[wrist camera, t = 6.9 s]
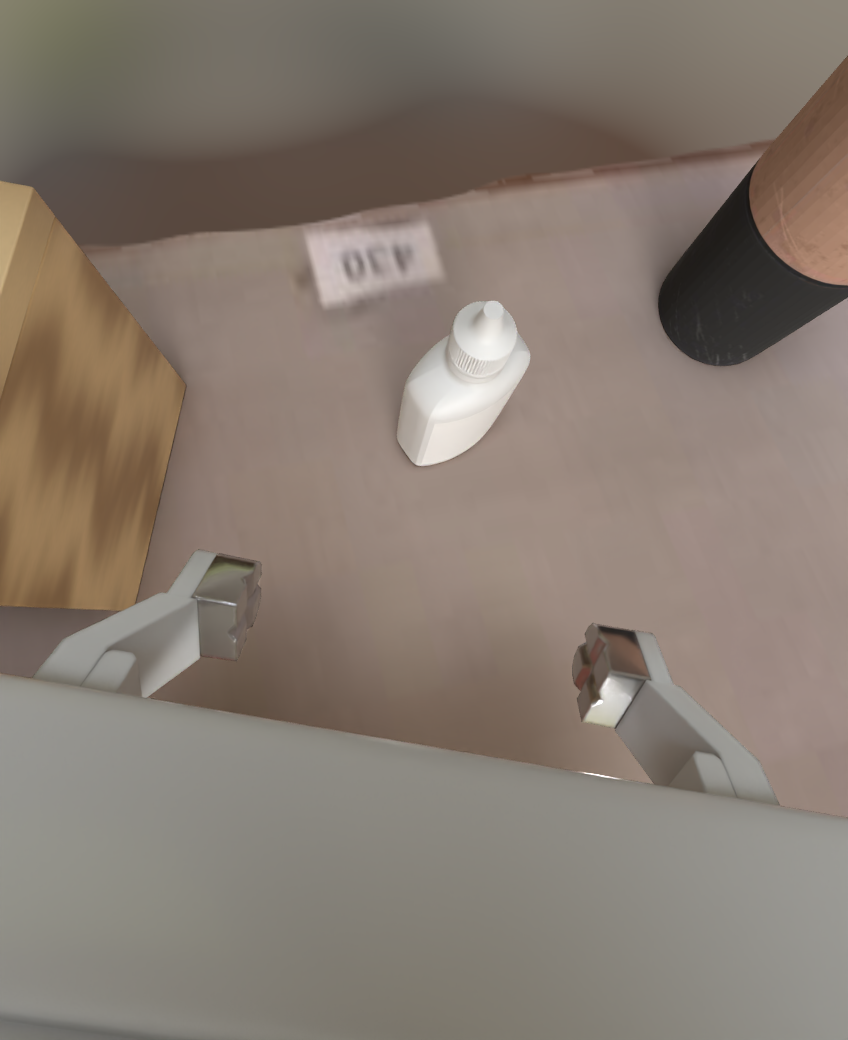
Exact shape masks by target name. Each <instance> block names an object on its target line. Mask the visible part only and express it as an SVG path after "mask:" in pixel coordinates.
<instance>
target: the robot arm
mask: <svg viewBox="0 0 848 1040" xmlns="http://www.w3.org/2000/svg"><path fill="white" fill-rule="evenodd" d="M261 575H262V564H261V563H260V562H259V561H254V560H250V559H245V558H240V557H235V556H230V555H226V554H221V553H219V554H218V553H214V552H209V551H204V550H200V549H198V550H197V551H195V552H194V553H193V554H192V556H191V557H190V559H189V560H188V562H187V563H186V565H185V566H184V568H183V569H182V571H181V572H180V574H179V575H178V577H177V578H176V580H175V581H174V583H173V584H172V586H171V587H170V589H169V590H168V592H167V593H161V592H160V593H158V594H156V595H154V596H152V597H150V598H147V599H145V600H143V601H141V602H139V603H137V604H135V605H133V606H131V607H129V608H127V609H125V610H122V611H120V612H118V613H116V614H114V615H112V616H110V617H108V618H106V619H104V620H102V621H99V622H97V623H95V624H93V625H91V626H89V627H87V628H85V629H83V630H81V631H79V632H77V633H74V634H72V635H70V636H68V637H66V638H64V639H63V640H62V641H61V642H60V644H59V645H58V646H57V647H56V648H55V650H54V651H53V652H52V653H51V655H50V656H49V657H48V658H47V660H46V661H45V662H44V663H43V665H42V666H41V667H40V668H39V669H38V671H37V672H36V673H35V674H34V676H33V677H32V678H27V677H21V676H15V675H9V674H3V673H0V1040H848V817H843V816H837V815H832V814H826V813H820V812H814V811H808V810H802V809H796V808H790V807H785V806H780V804H779V802H778V800H777V798H776V796H775V794H774V792H773V789H772V787H771V785H770V783H769V781H768V779H767V777H766V774H765V772H764V770H763V768H762V766H761V764H760V762H759V760H758V759H757V758H756V757H755V756H754V755H752V754H751V753H750V752H749V751H748V750H747V749H746V748H745V747H744V746H743V745H742V744H741V743H740V742H739V741H738V740H737V739H735V738H734V737H733V736H732V735H731V734H730V733H729V732H728V731H727V730H726V729H725V728H724V727H723V726H722V725H721V724H720V723H718V722H717V721H716V720H715V719H714V718H713V717H712V716H711V715H710V714H709V713H708V712H707V711H706V710H705V709H704V708H703V707H701V706H700V705H699V704H698V703H697V702H696V701H695V700H694V699H693V698H692V697H691V696H690V695H689V694H688V693H687V692H685V691H684V690H683V689H682V688H681V687H680V686H677V685H674V684H673V681H672V679H671V676H670V674H669V671H668V668H667V666H666V663H665V661H664V658H663V655H662V653H661V650H660V648H659V645H658V642H657V640H656V637H655V636H654V635H653V634H652V633H648V632H642V631H636V630H629V629H623V628H617V627H612V626H606V625H600V624H595V623H592V624H591V625H590V626H589V627H588V628H587V630H586V632H585V638H586V642H585V643H584V644H582V645H580V646H578V649H577V651H576V653H575V655H574V660H573V665H572V676H573V682H574V684H575V686H576V687H577V688H578V689H579V690H580V691H581V692H580V694H579V696H578V697H577V702H578V707H579V712H580V717H581V722H585V723H590V724H595V725H600V726H604V727H609V728H614V729H615V731H616V733H617V734H618V735H619V737H620V738H621V739H622V741H623V742H624V743H625V745H626V746H627V748H628V749H629V750H630V752H631V753H632V754H633V756H634V757H635V759H636V760H637V761H638V763H639V764H640V765H641V767H642V768H643V770H644V771H645V772H646V774H647V775H648V776H649V778H650V779H651V780H652V782H653V783H654V784H649V783H644V782H638V781H632V780H626V779H620V778H614V777H608V776H602V775H596V774H590V773H584V772H578V771H572V770H567V769H561V768H555V767H549V766H543V765H537V764H532V763H526V762H520V761H514V760H508V759H503V758H497V757H491V756H485V755H479V754H473V753H468V752H462V751H456V750H450V749H444V748H438V747H432V746H426V745H420V744H415V743H409V742H403V741H397V740H391V739H385V738H379V737H373V736H367V735H362V734H356V733H350V732H344V731H338V730H332V729H326V728H320V727H314V726H309V725H303V724H297V723H291V722H285V721H279V720H273V719H267V718H262V717H256V716H250V715H244V714H238V713H232V712H226V711H220V710H215V709H209V708H203V707H197V706H191V705H185V704H179V703H173V702H168V701H162V700H156V699H150V698H147V697H148V696H150V695H151V694H152V693H154V692H155V691H156V690H158V689H159V688H160V687H162V686H163V685H164V684H166V683H167V682H169V681H170V680H171V679H173V678H174V677H175V676H177V675H178V674H179V673H181V672H182V671H183V670H185V669H186V668H187V667H189V666H190V665H191V664H193V663H194V662H196V661H197V660H198V659H200V656H203V657H210V658H217V659H224V660H230V661H237V660H238V658H239V656H240V654H241V651H242V649H243V647H244V645H245V642H246V636H247V629H249V628H251V627H252V626H253V624H254V622H255V619H256V616H257V613H258V609H259V606H260V599H261V588H260V586H259V585H258V582H259V579H260V577H261Z"/></svg>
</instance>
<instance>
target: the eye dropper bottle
mask: <svg viewBox="0 0 848 1040" xmlns="http://www.w3.org/2000/svg"><path fill="white" fill-rule="evenodd" d="M515 324H516V323H515V322H514V320H513V317H511V315H510V314H509V312H507V310H505V309H504V308H503V306H502V305H501V304H500V303H499V302H497V301H489V302H486V301H484V302H483V301H481V302H479V301H478V302H474V303H471V304H468V305H467V306H465V307H463V309H461V310H460V312H458V314H457V315H456V317H455V319H454V321H453V325H452V328H451V332H450V335H448V336H447V337H445V338H444V339H442V340H441V341H440V342H438V343H437V344H436V345H434V346H433V347H432V348H431V349H430V350H429V351H428V352H427V353H426V354H425V355H424V356H423V357H422V358H421V360H420V361H419V362H418V363H417V365H416V366H415V367H414V369H413V370H412V372H411V373H410V375H409V377H408V379H407V381H406V384H405V388H404V393H403V397H402V403H401V409H400V415H399V422H398V429H397V435H396V437H397V440H398V442H399V444H400V446H401V447H402V449H403V450H404V451H405V453H406V454H407V456H408V457H409V459H410V460H411V461H412V462H413V463H414V464H415V465H419V466H428V465H433V464H437V463H441V462H444V461H447V460H449V459H452V458H454V457H456V456H458V455H460V454H462V453H463V452H465V451H466V450H468V449H469V448H471V447H472V446H473V445H474V444H476V443H477V442H478V441H479V440H480V439H481V438H482V437H483V436H484V435H485V433H486V432H487V431H488V430H489V429H490V427H491V426H492V424H493V423H494V421H495V420H496V418H497V417H498V415H499V414H500V412H501V410H502V409H503V407H504V406H505V404H506V403H507V401H508V399H509V398H510V396H511V395H512V393H513V391H514V390H515V388H516V386H517V385H518V383H519V382H520V380H521V378H522V376H523V375H524V373H525V371H526V369H527V367H528V365H529V362H530V357H531V356H530V352H529V349H528V347H527V345H526V344H525V342H524V341H523V339H522V338H521V336H520V335H519V334H518V332H517V329H516V325H515Z"/></svg>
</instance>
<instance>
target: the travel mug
mask: <svg viewBox="0 0 848 1040" xmlns="http://www.w3.org/2000/svg"><path fill="white" fill-rule="evenodd" d="M847 297H848V56H847V57H846V58H845V59H844V61H843V62H842V63H841V64H840V65H839V66H838V67H837V69H836V70H835V71H834V72H833V73H832V74H831V76H830V77H829V78H828V79H827V80H826V81H825V83H824V84H823V85H822V86H821V87H820V88H819V90H818V91H817V92H816V93H815V94H814V95H813V97H812V98H811V99H810V100H809V101H808V102H807V104H806V105H805V106H804V107H803V108H802V109H801V111H800V112H799V113H798V114H797V115H796V116H795V118H794V119H793V120H792V121H791V122H790V123H789V125H788V126H787V127H786V128H785V129H784V130H783V132H782V133H781V134H780V135H779V136H778V137H777V139H776V140H775V141H774V142H773V143H772V144H771V146H770V147H769V148H768V149H767V150H766V151H765V153H764V154H763V155H762V157H761V158H760V159H759V160H758V161H757V162H756V164H755V165H754V166H753V167H752V169H751V170H750V171H749V173H748V174H747V175H746V176H745V178H744V179H743V180H742V181H741V183H740V184H739V185H738V186H737V188H736V189H735V190H734V191H733V193H732V194H731V195H730V196H729V198H728V199H727V200H726V201H725V203H724V204H723V205H722V207H721V208H720V209H719V210H718V212H717V213H716V214H715V215H714V217H713V218H712V219H711V220H710V222H709V223H708V224H707V225H706V227H705V228H704V229H703V230H702V232H701V233H700V234H699V236H698V237H697V238H696V239H695V241H694V242H693V243H692V244H691V246H690V247H689V248H688V249H687V251H686V252H685V253H684V254H683V256H682V257H681V258H680V260H679V261H678V262H677V264H676V265H675V266H674V267H673V269H672V270H671V271H670V273H669V274H668V276H667V277H666V279H665V281H664V283H663V285H662V288H661V291H660V295H659V313H660V318H661V321H662V324H663V326H664V328H665V330H666V332H667V334H668V336H669V337H670V339H671V340H672V341H673V342H674V343H675V345H676V346H677V347H678V348H680V349H681V350H682V351H683V352H684V353H686V354H687V355H689V356H690V357H692V358H694V359H696V360H698V361H701V362H703V363H707V364H711V365H718V366H726V365H733V364H738V363H741V362H744V361H746V360H748V359H750V358H752V357H753V356H755V355H757V354H759V353H760V352H762V351H764V350H765V349H767V348H768V347H770V346H772V345H773V344H775V343H776V342H778V341H780V340H781V339H783V338H784V337H786V336H787V335H789V334H791V333H792V332H794V331H795V330H797V329H799V328H800V327H802V326H803V325H805V324H806V323H808V322H810V321H811V320H813V319H814V318H816V317H817V316H819V315H821V314H822V313H824V312H825V311H827V310H829V309H830V308H832V307H833V306H835V305H836V304H838V303H840V302H841V301H843V300H844V299H846V298H847Z"/></svg>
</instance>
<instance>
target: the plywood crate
mask: <svg viewBox="0 0 848 1040" xmlns="http://www.w3.org/2000/svg"><path fill="white" fill-rule="evenodd" d="M185 388H186V384H185V383H184V382H183V380H182V379H181V378H180V376H179V375H178V374H177V373H176V371H175V370H174V369H173V367H172V366H171V365H170V364H169V362H168V361H167V360H166V358H165V357H164V356H163V354H162V353H161V352H160V351H159V349H158V348H157V347H156V345H155V344H154V343H153V342H152V340H151V339H150V338H149V336H148V335H147V334H146V333H145V331H144V330H143V329H142V327H141V326H140V325H139V324H138V322H137V321H136V320H135V318H134V317H133V316H132V315H131V313H130V312H129V311H128V309H127V308H126V307H125V306H124V304H123V303H122V302H121V300H120V299H119V298H118V297H117V295H116V294H115V293H114V291H113V290H112V289H111V288H110V286H109V285H108V284H107V282H106V281H105V280H104V278H103V277H102V276H101V275H100V273H99V272H98V271H97V269H96V268H95V267H94V266H93V264H92V263H91V262H90V260H89V259H88V258H87V257H86V255H85V254H84V253H83V251H82V250H81V249H80V248H79V246H78V245H77V244H76V242H75V241H74V240H73V239H72V237H71V236H70V235H69V233H68V232H67V231H66V230H65V228H64V227H63V226H62V224H61V223H60V222H59V221H58V219H57V218H56V217H54V214H53V212H52V211H51V210H50V208H49V207H48V206H47V205H46V203H45V202H44V201H43V200H42V198H41V197H40V196H39V194H38V193H37V192H36V191H35V189H34V188H32V187H29V186H24V185H19V184H14V183H8V182H3V181H0V606H15V607H40V608H65V609H89V610H114V611H122V610H125V609H127V608H129V607H131V606H133V605H135V603H136V598H137V594H138V590H139V586H140V581H141V577H142V573H143V568H144V564H145V560H146V555H147V551H148V547H149V543H150V538H151V534H152V530H153V525H154V521H155V517H156V512H157V508H158V504H159V499H160V495H161V491H162V487H163V482H164V478H165V474H166V469H167V465H168V461H169V456H170V452H171V448H172V444H173V439H174V435H175V431H176V426H177V422H178V418H179V413H180V409H181V405H182V401H183V396H184V392H185Z"/></svg>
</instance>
